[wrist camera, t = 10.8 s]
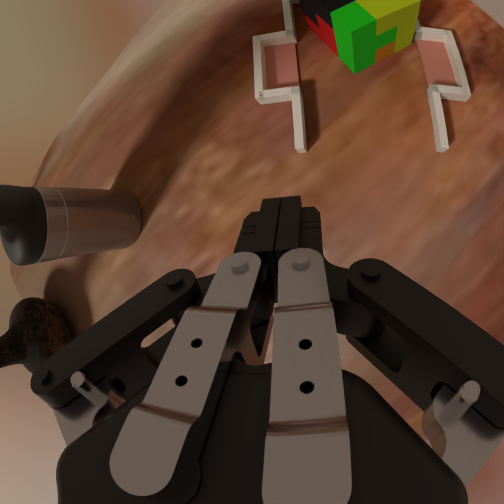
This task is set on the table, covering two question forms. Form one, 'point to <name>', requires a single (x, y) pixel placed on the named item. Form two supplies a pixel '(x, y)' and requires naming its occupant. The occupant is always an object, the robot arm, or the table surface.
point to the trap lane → (287, 89)
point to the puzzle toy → (362, 27)
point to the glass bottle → (33, 334)
